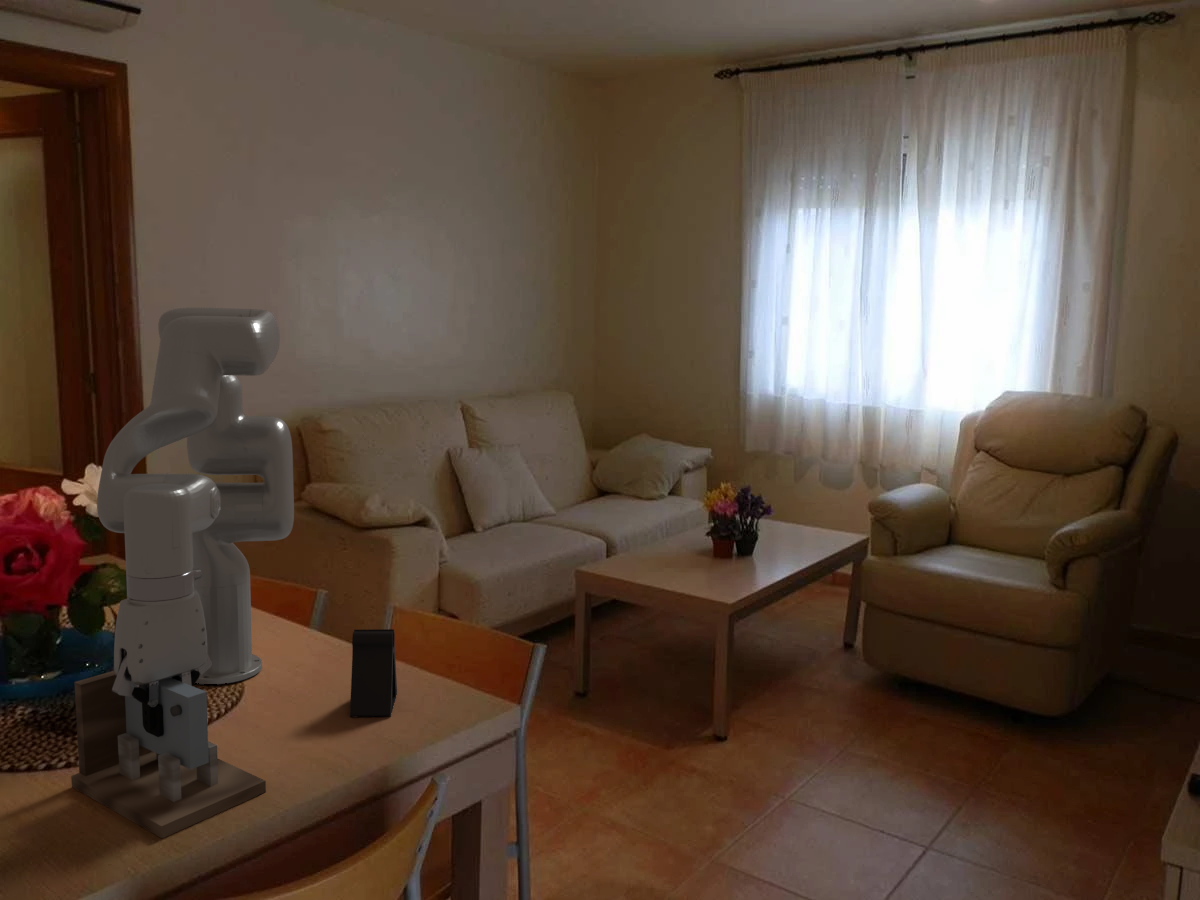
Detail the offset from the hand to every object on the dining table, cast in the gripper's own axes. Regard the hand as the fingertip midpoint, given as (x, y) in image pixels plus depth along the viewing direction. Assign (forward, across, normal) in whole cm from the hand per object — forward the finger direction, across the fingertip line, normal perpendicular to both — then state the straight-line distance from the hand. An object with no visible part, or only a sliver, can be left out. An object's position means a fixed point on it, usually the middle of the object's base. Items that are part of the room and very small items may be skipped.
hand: (165, 728), depth 124 cm
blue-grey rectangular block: (+3, 0, 0) cm, 3 cm away
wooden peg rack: (+8, 0, 0) cm, 8 cm away
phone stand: (+8, -34, 0) cm, 35 cm away
